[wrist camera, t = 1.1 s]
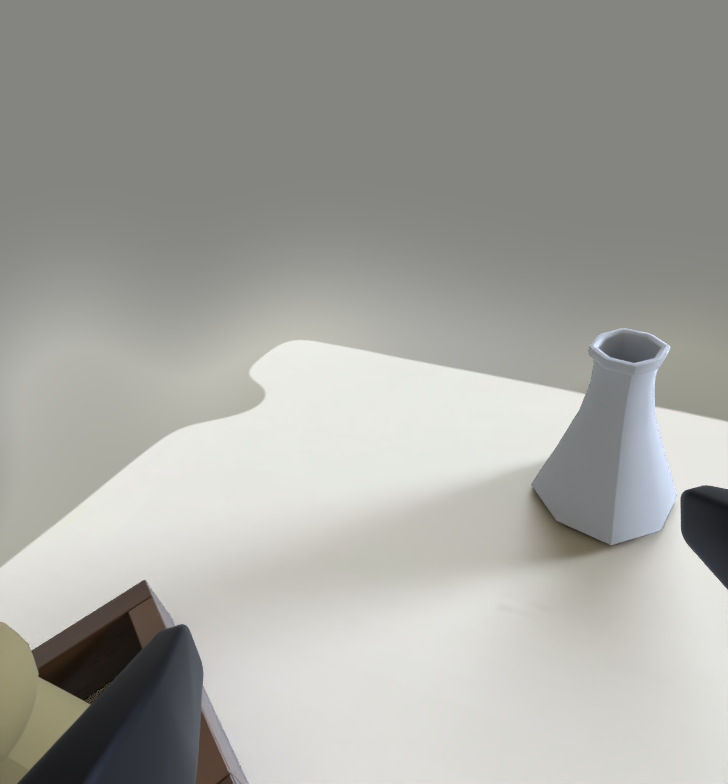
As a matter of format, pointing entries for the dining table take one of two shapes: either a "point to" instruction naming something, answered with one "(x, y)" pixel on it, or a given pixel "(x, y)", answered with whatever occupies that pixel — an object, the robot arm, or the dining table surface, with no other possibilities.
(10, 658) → the olive pawn
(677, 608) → the dining table surface
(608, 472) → the flask
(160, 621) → the frame
